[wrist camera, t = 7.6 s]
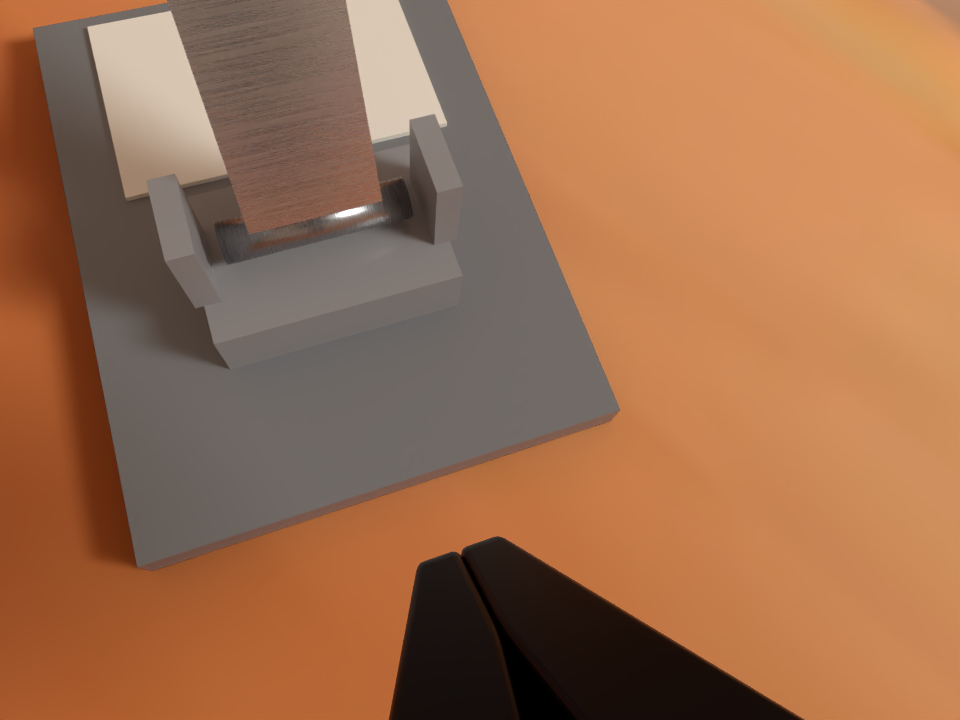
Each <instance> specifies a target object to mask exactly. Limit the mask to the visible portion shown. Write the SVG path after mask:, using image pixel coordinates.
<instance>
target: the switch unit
mask: <svg viewBox="0 0 960 720" xmlns="http://www.w3.org/2000/svg"><path fill="white" fill-rule="evenodd" d="M346 4H347V10H348V15H349V21H350V26H351V32H352V37H353V42H354V48H355V53H356V59H357V64H358V70H359V75H360V81H361V86H362V92H363V97H364V103H365V108H366V114H367V119H368V125H369V130H370V136H371V141H372V147H373V152H374V158H375V163H376V168H377V174H378V179H379V182H380V181H384V180H388V179H393V178H397V177H402V178H403V179H404V182H405V184H406V187H407V190H408V193H409V197H410V201H411V206H412V213H413V216H412V218H410V219H406V220H402V221H398V222H394V223H390V224H386V225H383V226H379V227H375V228H371V229H367V230H363V231H359V232H355V233H351V234H347V235H344V236H340V237H336V238H332V239H328V240H324V241H320V242H316V243H312V244H309V245H305V246H301V247H297V248H293V249H289V250H285V251H281V252H277V253H273V254H270V255H266V256H262V257H258V258H254V259H250V260H246V261H242V262H238V263H234V264H231V265H227V263H226V261H225V259H224V257H223V254H222V251H221V248H220V245H219V242H218V239H217V235H216V232H215V228H214V222H217V221H221V220H225V219H229V218H233V217H237V216H242V213H241V210H240V207H239V205H238V202H237V199H236V196H235V193H234V190H233V187H232V185H231V182H230V179H229V176H228V173H227V170H226V167H225V164H224V162H223V159H222V156H221V153H220V150H219V147H218V144H217V142H216V139H215V136H214V133H213V130H212V127H211V124H210V121H209V119H208V116H207V113H206V110H205V107H204V104H203V101H202V99H201V96H200V93H199V90H198V87H197V84H196V81H195V79H194V76H193V73H192V70H191V67H190V64H189V61H188V58H187V56H186V53H185V50H184V47H183V44H182V41H181V38H180V36H179V33H178V30H177V27H176V24H175V21H174V18H173V15H172V13H171V10H170V7H169V4H168V3H164V4H159V5H154V6H148V7H143V8H138V9H132V10H127V11H122V12H116V13H111V14H106V15H100V16H95V17H90V18H84V19H79V20H74V21H68V22H63V23H58V24H52V25H47V26H42V27H36V28H33V32H34V37H35V42H36V48H37V53H38V58H39V63H40V68H41V73H42V78H43V84H44V89H45V94H46V99H47V104H48V109H49V115H50V120H51V125H52V130H53V135H54V140H55V146H56V151H57V156H58V161H59V166H60V171H61V176H62V182H63V187H64V192H65V197H66V202H67V207H68V213H69V218H70V223H71V228H72V233H73V238H74V244H75V249H76V254H77V259H78V264H79V269H80V274H81V280H82V285H83V290H84V295H85V300H86V305H87V311H88V316H89V321H90V326H91V331H92V336H93V342H94V347H95V352H96V357H97V362H98V367H99V372H100V378H101V383H102V388H103V393H104V398H105V403H106V409H107V414H108V419H109V424H110V429H111V434H112V440H113V445H114V450H115V455H116V460H117V465H118V470H119V476H120V481H121V486H122V491H123V496H124V501H125V507H126V512H127V517H128V522H129V527H130V532H131V538H132V543H133V548H134V553H135V558H136V563H137V567H138V568H142V569H146V570H149V571H154V570H157V569H160V568H163V567H166V566H169V565H172V564H175V563H178V562H181V561H184V560H187V559H190V558H193V557H196V556H199V555H202V554H206V553H209V552H212V551H215V550H218V549H221V548H224V547H227V546H230V545H233V544H236V543H239V542H242V541H245V540H248V539H251V538H254V537H257V536H261V535H264V534H267V533H270V532H273V531H276V530H279V529H282V528H285V527H288V526H291V525H294V524H297V523H300V522H303V521H306V520H309V519H312V518H315V517H319V516H322V515H325V514H328V513H331V512H334V511H337V510H340V509H343V508H346V507H349V506H352V505H355V504H358V503H361V502H364V501H367V500H370V499H374V498H377V497H380V496H383V495H386V494H389V493H392V492H395V491H398V490H401V489H404V488H407V487H410V486H413V485H416V484H419V483H422V482H425V481H429V480H432V479H435V478H438V477H441V476H444V475H447V474H450V473H453V472H456V471H459V470H462V469H465V468H468V467H471V466H474V465H477V464H480V463H483V462H487V461H490V460H493V459H496V458H499V457H502V456H505V455H508V454H511V453H514V452H517V451H520V450H523V449H526V448H529V447H532V446H535V445H538V444H542V443H545V442H548V441H551V440H554V439H557V438H560V437H563V436H566V435H569V434H572V433H575V432H578V431H581V430H584V429H587V428H590V427H593V426H597V425H600V424H603V423H606V422H609V421H611V420H612V419H613V418H614V417H615V415H616V414H617V413H618V412H619V411H620V408H619V406H618V404H617V401H616V399H615V396H614V394H613V392H612V389H611V387H610V385H609V382H608V380H607V378H606V375H605V373H604V370H603V368H602V366H601V363H600V361H599V359H598V356H597V354H596V352H595V349H594V347H593V344H592V342H591V340H590V337H589V335H588V333H587V330H586V328H585V326H584V323H583V321H582V319H581V316H580V314H579V311H578V309H577V307H576V304H575V302H574V300H573V297H572V295H571V293H570V290H569V288H568V285H567V283H566V281H565V278H564V276H563V274H562V271H561V269H560V267H559V264H558V262H557V259H556V257H555V255H554V252H553V250H552V248H551V245H550V243H549V241H548V238H547V236H546V233H545V231H544V229H543V226H542V224H541V222H540V219H539V217H538V215H537V212H536V210H535V208H534V205H533V203H532V200H531V198H530V196H529V193H528V191H527V189H526V186H525V184H524V182H523V179H522V177H521V174H520V172H519V170H518V167H517V165H516V163H515V160H514V158H513V156H512V153H511V151H510V148H509V146H508V144H507V141H506V139H505V137H504V134H503V132H502V130H501V127H500V125H499V122H498V120H497V118H496V115H495V113H494V111H493V108H492V106H491V104H490V101H489V99H488V97H487V94H486V92H485V89H484V87H483V85H482V82H481V80H480V78H479V75H478V73H477V71H476V68H475V66H474V63H473V61H472V59H471V56H470V54H469V52H468V49H467V47H466V45H465V42H464V40H463V37H462V35H461V33H460V30H459V28H458V26H457V23H456V21H455V19H454V16H453V14H452V11H451V9H450V7H449V4H448V2H447V0H346Z"/></svg>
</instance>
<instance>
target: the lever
mask: <svg viewBox="0 0 960 720" xmlns="http://www.w3.org/2000/svg"><path fill="white" fill-rule="evenodd" d="M167 1H168V4H169V7H170V10H171V13H172V15H173V18H174V21H175V24H176V27H177V30H178V33H179V36H180V38H181V41H182V44H183V47H184V50H185V53H186V56H187V58H188V61H189V64H190V67H191V70H192V73H193V76H194V79H195V81H196V84H197V87H198V90H199V93H200V96H201V99H202V101H203V104H204V107H205V110H206V113H207V116H208V119H209V121H210V124H211V127H212V130H213V133H214V136H215V139H216V142H217V144H218V147H219V150H220V153H221V156H222V159H223V162H224V164H225V167H226V170H227V173H228V176H229V179H230V182H231V185H232V187H233V190H234V193H235V196H236V199H237V202H238V205H239V207H240V210H241V213H242V216H237V217H233V218H229V219H225V220H221V221H217V222H214V228H215V232H216V235H217V239H218V242H219V245H220V248H221V251H222V254H223V257H224V259H225V261H226V263H227V265H231V264H234V263H238V262H242V261H246V260H250V259H254V258H258V257H262V256H266V255H270V254H273V253H277V252H281V251H285V250H289V249H293V248H297V247H301V246H305V245H309V244H312V243H316V242H320V241H324V240H328V239H332V238H336V237H340V236H344V235H347V234H351V233H355V232H359V231H363V230H367V229H371V228H375V227H379V226H383V225H386V224H390V223H394V222H398V221H402V220H406V219H410V218H412V216H413V213H412V206H411V201H410V197H409V193H408V190H407V187H406V184H405V182H404V179H403V178H402V177H397V178H393V179H388V180H384V181H380V182H379V179H378V174H377V168H376V163H375V158H374V152H373V147H372V141H371V136H370V130H369V125H368V119H367V114H366V108H365V103H364V97H363V92H362V86H361V81H360V75H359V70H358V64H357V59H356V53H355V48H354V42H353V37H352V32H351V26H350V21H349V15H348V10H347V4H346V0H167Z"/></svg>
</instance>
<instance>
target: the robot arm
mask: <svg viewBox="0 0 960 720" xmlns="http://www.w3.org/2000/svg"><path fill="white" fill-rule="evenodd" d="M389 720H804V719H802V718H801V717H799V716H797V715H796V714H794V713H793V712H791V711H789V710H788V709H786V708H784V707H783V706H781V705H779V704H778V703H776V702H774V701H773V700H771V699H769V698H768V697H766V696H764V695H763V694H761V693H759V692H758V691H756V690H754V689H753V688H751V687H750V686H748V685H746V684H745V683H743V682H741V681H740V680H738V679H736V678H735V677H733V676H731V675H730V674H728V673H726V672H725V671H723V670H721V669H720V668H718V667H716V666H715V665H713V664H711V663H710V662H708V661H707V660H705V659H703V658H702V657H700V656H698V655H697V654H695V653H693V652H692V651H690V650H688V649H687V648H685V647H683V646H682V645H680V644H678V643H677V642H675V641H673V640H672V639H670V638H669V637H667V636H665V635H664V634H662V633H660V632H659V631H657V630H655V629H654V628H652V627H650V626H649V625H647V624H645V623H644V622H642V621H640V620H639V619H637V618H635V617H634V616H632V615H630V614H629V613H627V612H626V611H624V610H622V609H621V608H619V607H617V606H616V605H614V604H612V603H611V602H609V601H607V600H606V599H604V598H602V597H601V596H599V595H597V594H596V593H594V592H592V591H591V590H589V589H587V588H586V587H584V586H583V585H581V584H579V583H578V582H576V581H574V580H573V579H571V578H569V577H568V576H566V575H564V574H563V573H561V572H559V571H558V570H556V569H554V568H553V567H551V566H549V565H548V564H546V563H544V562H543V561H541V560H540V559H538V558H536V557H535V556H533V555H531V554H530V553H528V552H526V551H525V550H523V549H521V548H520V547H518V546H516V545H515V544H513V543H511V542H510V541H508V540H506V539H505V538H503V537H493V538H490V539H487V540H484V541H481V542H478V543H476V544H473V545H470V546H467V547H465V548H464V549H463V550H462V553H461V555H460V554H458V553H457V552H450V553H447V554H444V555H441V556H438V557H435V558H433V559H430V560H427V561H424V562H422V563H420V565H419V566H418V568H417V571H416V575H415V581H414V586H413V592H412V597H411V603H410V608H409V613H408V619H407V624H406V630H405V635H404V640H403V646H402V651H401V657H400V662H399V667H398V673H397V678H396V684H395V689H394V695H393V700H392V705H391V711H390V716H389Z"/></svg>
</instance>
